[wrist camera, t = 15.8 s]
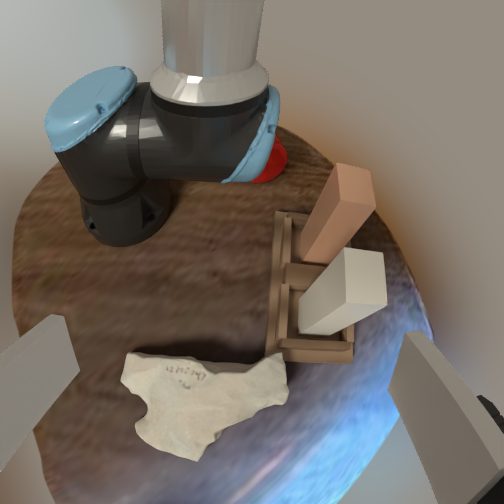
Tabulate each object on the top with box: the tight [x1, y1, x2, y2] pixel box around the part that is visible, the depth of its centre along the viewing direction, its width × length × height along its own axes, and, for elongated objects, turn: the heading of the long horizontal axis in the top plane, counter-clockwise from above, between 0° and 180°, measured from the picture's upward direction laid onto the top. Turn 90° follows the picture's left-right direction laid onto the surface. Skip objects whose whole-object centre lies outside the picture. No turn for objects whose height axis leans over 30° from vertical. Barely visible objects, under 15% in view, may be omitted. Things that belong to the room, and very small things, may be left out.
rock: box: [121, 352, 289, 461], centre depth 32 cm, size 21×5×15 cm
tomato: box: [249, 135, 287, 183], centre depth 48 cm, size 10×11×6 cm
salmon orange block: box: [300, 162, 376, 267], centre depth 35 cm, size 4×5×16 cm
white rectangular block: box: [298, 247, 387, 337], centre depth 31 cm, size 4×5×16 cm
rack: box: [264, 211, 354, 363], centre depth 40 cm, size 22×12×4 cm, turn 175°
